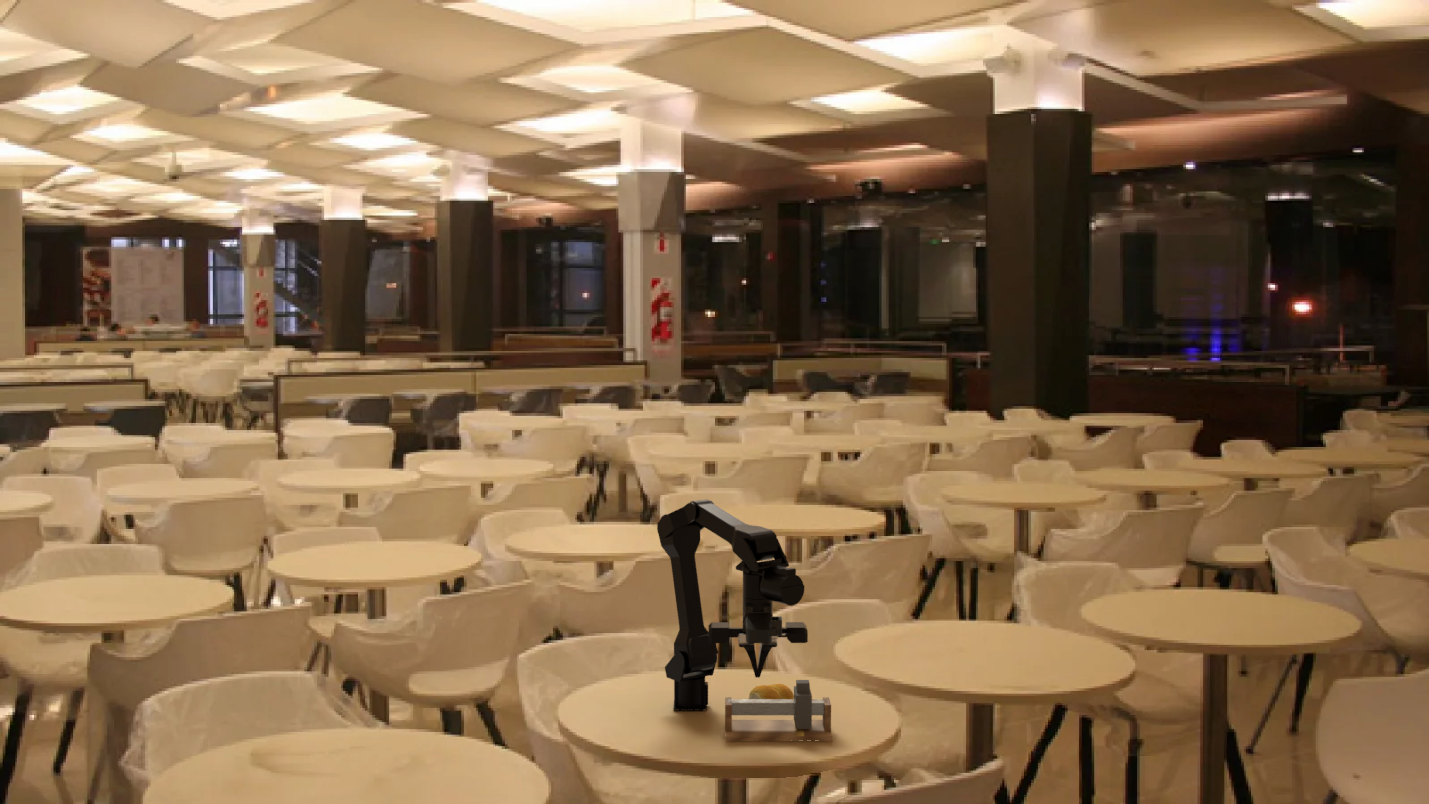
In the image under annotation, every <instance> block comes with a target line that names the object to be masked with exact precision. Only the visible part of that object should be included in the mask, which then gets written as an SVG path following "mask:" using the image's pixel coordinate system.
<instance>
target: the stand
mask: <svg viewBox="0 0 1429 804" xmlns="http://www.w3.org/2000/svg"><path fill="white" fill-rule="evenodd" d="M728 699H732V697H731V696H730V697H729V696H728V697H727V696H726V697H724V731H725V732H724V736H725V739H724V740H725V742H800V741H799V740H803V741H802V742H808V741H807V740H811V741H810V742H816V741H815V740H819V741H818V742H833V735H832V704H831V699H830V697H828V696H827V697H825V696H824V697H822V699H823V700H824V701H825V702H824V715H822V719H812V729H796V728H795V723H794V718H793V719H733V718H732V717H733V715H732V703H729V702H728V701H729V700H728ZM826 701H827V703H826ZM791 740H792V741H791Z"/></svg>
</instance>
